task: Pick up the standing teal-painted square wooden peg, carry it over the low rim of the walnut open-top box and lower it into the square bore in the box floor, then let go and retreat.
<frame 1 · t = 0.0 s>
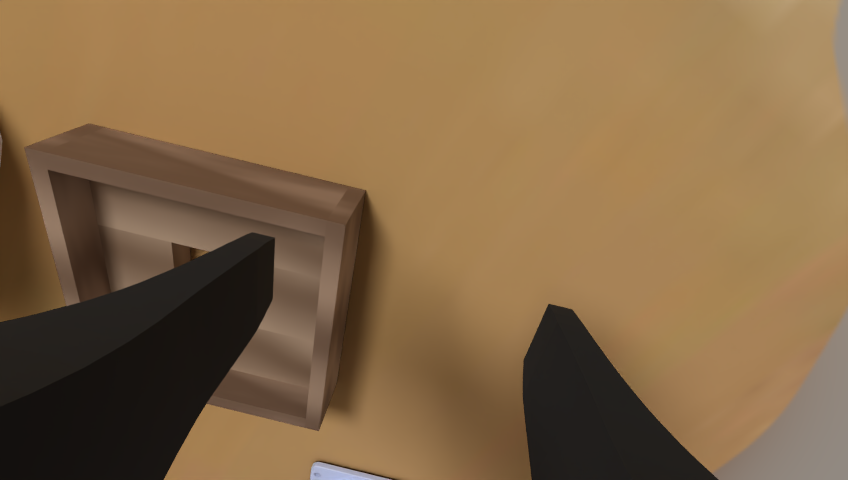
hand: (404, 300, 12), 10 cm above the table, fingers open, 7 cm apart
socket box: (229, 271, 25), on the table
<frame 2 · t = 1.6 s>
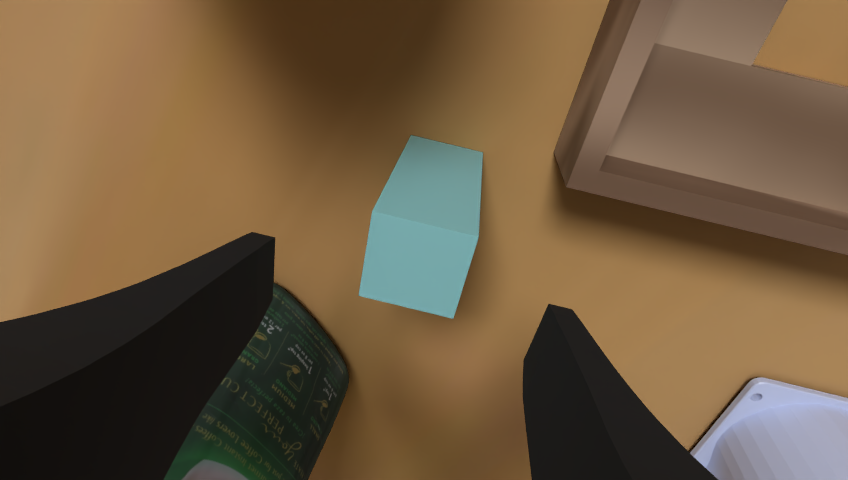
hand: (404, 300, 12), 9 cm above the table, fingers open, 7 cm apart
socket box: (834, 3, 15), on the table
coffee jar: (272, 340, 26), on the table
peg: (438, 177, 19), on the table
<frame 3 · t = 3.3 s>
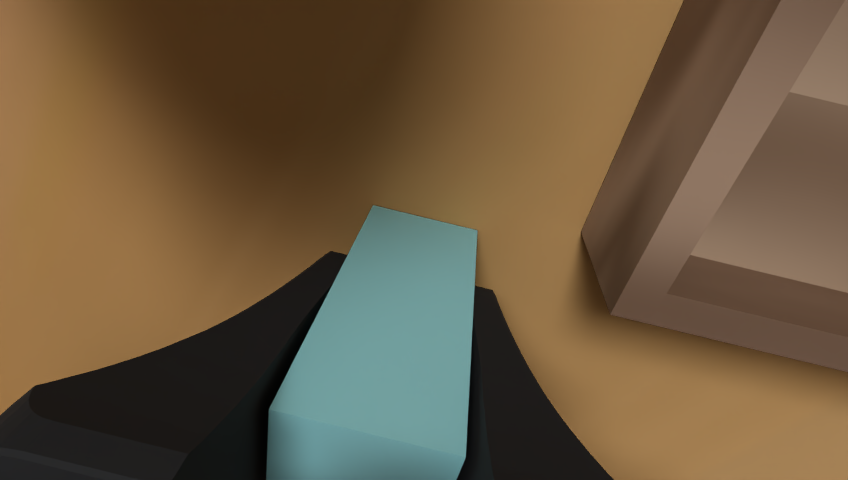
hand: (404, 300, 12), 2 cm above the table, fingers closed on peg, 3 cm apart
peg: (415, 261, 14), on the table, touching gripper
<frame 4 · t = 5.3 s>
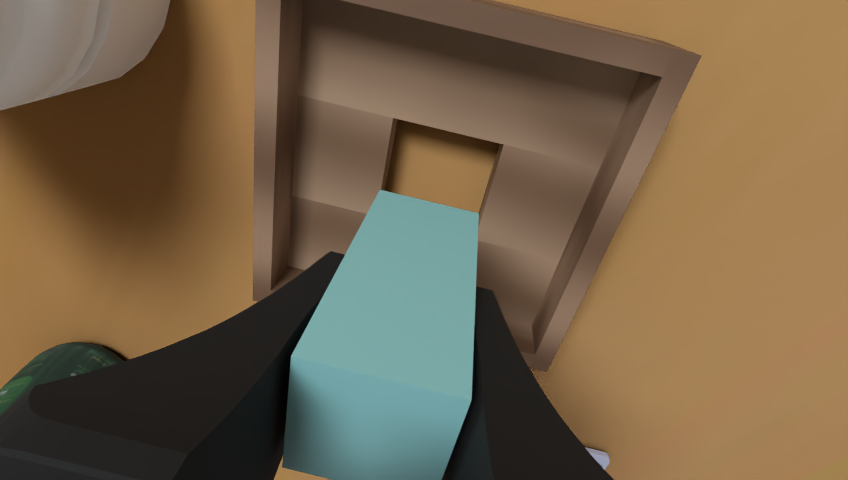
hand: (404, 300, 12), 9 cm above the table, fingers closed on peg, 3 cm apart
socket box: (439, 169, 20), on the table
coffee jar: (116, 388, 31), on the table
peg: (419, 244, 14), point 7 cm above the table, touching gripper
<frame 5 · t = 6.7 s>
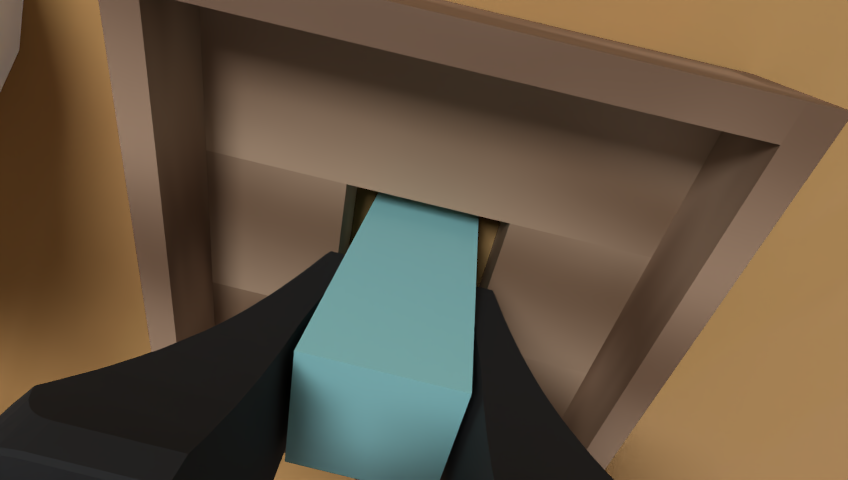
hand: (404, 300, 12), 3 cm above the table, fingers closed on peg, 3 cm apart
socket box: (419, 244, 14), on the table
peg: (419, 242, 14), resting in socket box, touching gripper
when the fingers open (3 cm above the table, at t = 7.2 s): peg stays where it is, resting in socket box.
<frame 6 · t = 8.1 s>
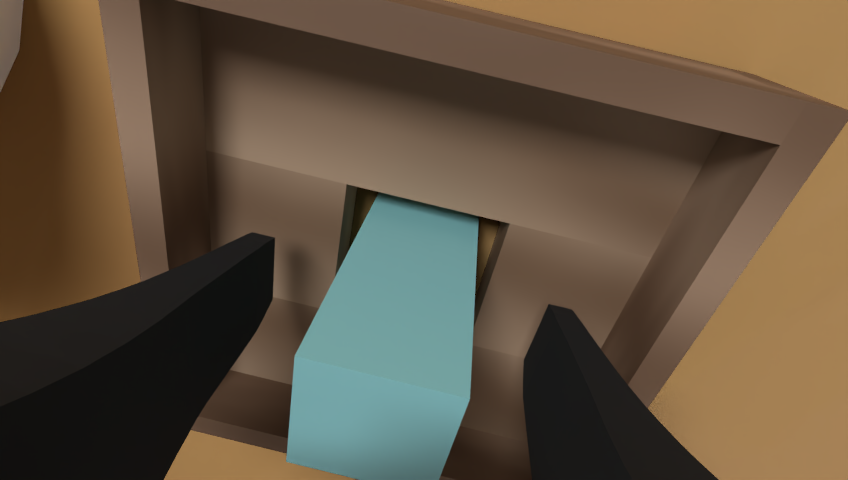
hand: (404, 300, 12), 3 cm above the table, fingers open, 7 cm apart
socket box: (419, 244, 14), on the table
peg: (420, 241, 14), resting in socket box
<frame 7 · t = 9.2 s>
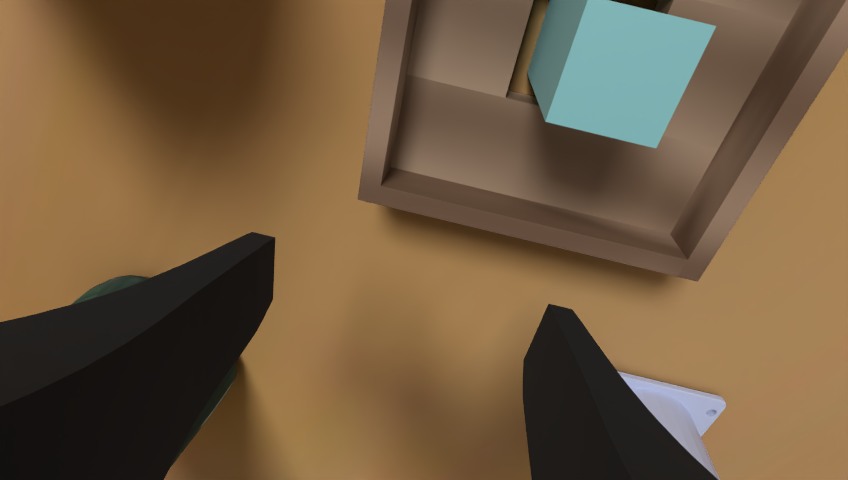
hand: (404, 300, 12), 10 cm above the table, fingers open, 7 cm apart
socket box: (577, 44, 17), on the table
coffee jar: (169, 333, 28), on the table
peg: (578, 41, 17), resting in socket box
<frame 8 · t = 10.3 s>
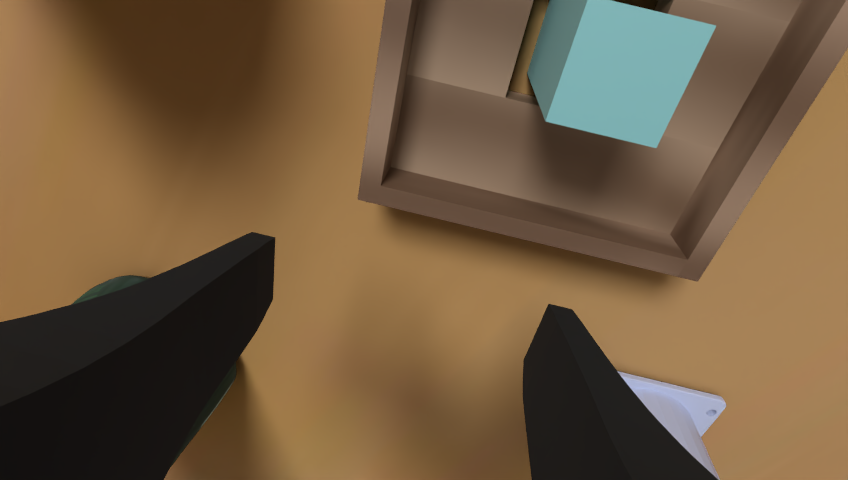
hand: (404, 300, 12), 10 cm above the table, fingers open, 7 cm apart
socket box: (577, 44, 17), on the table
coffee jar: (169, 333, 28), on the table
peg: (578, 41, 17), resting in socket box
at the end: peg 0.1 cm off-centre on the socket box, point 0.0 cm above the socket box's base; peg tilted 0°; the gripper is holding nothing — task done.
